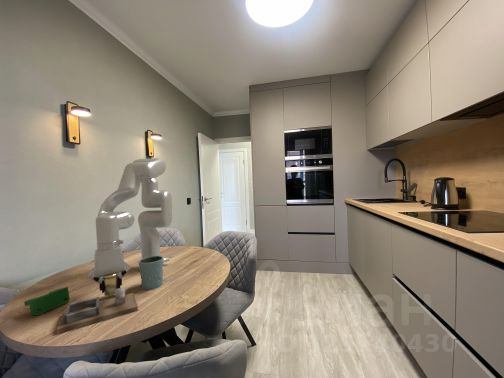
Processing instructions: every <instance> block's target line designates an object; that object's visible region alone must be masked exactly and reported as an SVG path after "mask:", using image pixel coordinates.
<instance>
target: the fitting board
mask: <svg viewBox="0 0 504 378" xmlns="http://www.w3.org/2000/svg"><path fill="white" fill-rule="evenodd" d="M125 289H126V288H125V287H120V288H118V289H116V290H115V294H114V297H112V298H109V299H105V300H100V297H99V296H97V297H93V298H89V299H86V300H81V301H77V302H72V303H69V304H68V303H67V305H66V308H65V310H62V313H61V316H60V319H59V321H58V325H57V327H56V335H60V334H64V333H66V332H70V331H73V330H77V329H79V328H83V327H84V328H85V327H87V326H90V325H93V324H98V323H100V322H104V321H107V320H112V319H115V318H117V317H120V316H124V315H128V314H131V313H133V312H137V311H138V310H139V309H138V304H137V300H136V297H135V293H134V292H132V293H128V294H125V293H126V292H125V291H126V290H125Z"/></svg>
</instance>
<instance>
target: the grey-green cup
mask: <svg viewBox="0 0 504 378" xmlns="http://www.w3.org/2000/svg"><path fill="white" fill-rule="evenodd" d="M163 258H164V256H162V255H160V256H150V257H145V258H143V259H142V258H141V259H139V260H138V270H139V269H140V270H139V272H140V273H139V274H140V275H139V276H140V280H141V281H140V283H141V288H142V289H143V290H146V291H150V290H155V289H158V288H161V286H162V285H163V284H164V282H163V281H164V279H163V277H164V276H163V275H164V269H163V268H164V266H163Z"/></svg>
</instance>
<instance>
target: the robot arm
mask: <svg viewBox="0 0 504 378" xmlns="http://www.w3.org/2000/svg"><path fill="white" fill-rule="evenodd" d="M166 170H167V164H166V161H165V160H164V159H163V158H157V157H156V158H140V159H139V158H138V159H135V160H133V161H132V162H129V163H128V164H126V165H125V167H124V169H123V172H122V175H121V179H120V182H119V184H118V187H117V189H116V190H114V191H113V192H112V193H111V194H109V196H108V197H107V198H105V200H104V201H103V202H102V204H101V205H100V207H99V211H98V214H97V216H96V218H95V230H96V231H95V233H96V234H95V235H96V248H97V249H95V252H94V259H93V260H94V262H93V264H94V265H93V266H94V267H93V268H92V270H91V271H90V273H89V274H88V275H87V278H88V279H90V280H93V281H94V282H96V283H98V284H99V285H98V286H99V292H100V291H101V293H102V294H104V282H103V276H104V275H108V274H113V273H118V288H121V287H122V286H123V278H124V276H125V275H126V274H127V272H129V271H130V270H131V268H132V267H131V266H130V264H128V263H127V262H125V259H124V251H123V247H122V246H121V245H123V244H124V240H123V239H121V240H120V234H119V231H120V230H126V229H129V228H131V227H133V225H134V223H135V215H134V214H133V213H132V212H130V211H115V209H116V208H117V207H118V206H119V205H121V204H123V203H125V202H126V201H129V200H130V199H133V198H135V197H136V196H137V195H138V193H139V190H140V187H141V197H140V198H141V205H142V207H144V208H146V209H155V210H144V211H142V212H140V213H139V214H138V217H137V223H138V227H139V233H140V249H141V251H140V252H141V253H140V254H141V255H140V256H141V259H143V258H145V257H150V256H161V239H160V232H159V231H158V228H167V227H170V226H171V225H172V222H173V198H172V195H171V193H170V192H169V191H168V190H159V182H158V180H157V177H160V176H162V175H163V174H164V173H165V172H166ZM157 208H158V209H159V208H160V209H159V210H156V209H157ZM165 262H166V263H167V262H170V257H163V267H165V266H164V263H165ZM138 271H140V269H139V268H138Z"/></svg>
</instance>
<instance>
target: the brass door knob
mask: <svg viewBox="0 0 504 378" xmlns="http://www.w3.org/2000/svg"><path fill="white" fill-rule="evenodd" d="M103 282H104V293H103V295H104V296H105V297H109V296H115V290H116V289H118V273H113V274H108V275H104V276H103Z"/></svg>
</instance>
